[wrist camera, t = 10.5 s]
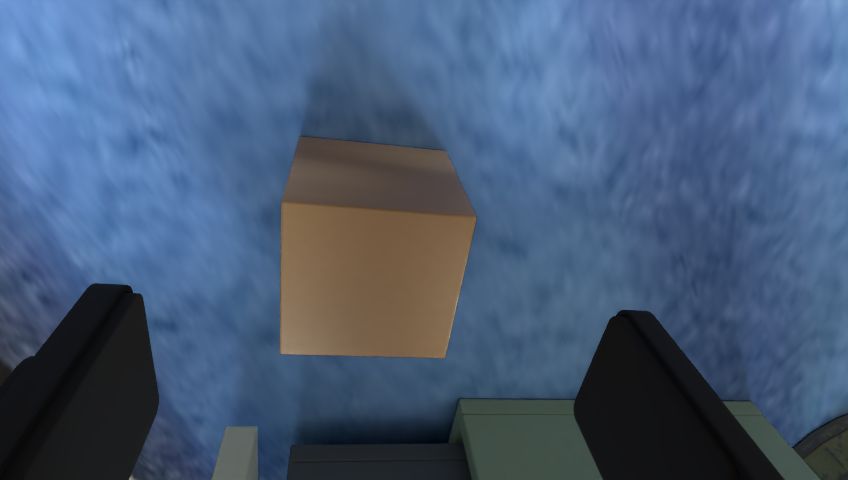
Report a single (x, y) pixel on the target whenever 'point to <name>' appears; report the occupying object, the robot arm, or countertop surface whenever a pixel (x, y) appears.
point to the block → (371, 250)
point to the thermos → (827, 450)
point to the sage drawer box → (572, 440)
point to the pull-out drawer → (343, 460)
